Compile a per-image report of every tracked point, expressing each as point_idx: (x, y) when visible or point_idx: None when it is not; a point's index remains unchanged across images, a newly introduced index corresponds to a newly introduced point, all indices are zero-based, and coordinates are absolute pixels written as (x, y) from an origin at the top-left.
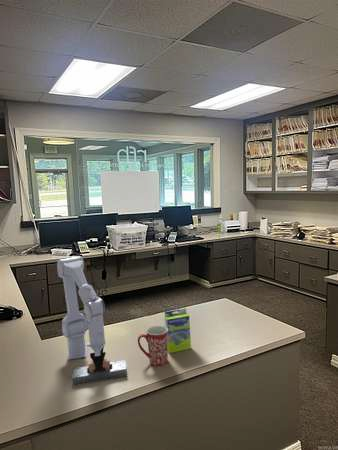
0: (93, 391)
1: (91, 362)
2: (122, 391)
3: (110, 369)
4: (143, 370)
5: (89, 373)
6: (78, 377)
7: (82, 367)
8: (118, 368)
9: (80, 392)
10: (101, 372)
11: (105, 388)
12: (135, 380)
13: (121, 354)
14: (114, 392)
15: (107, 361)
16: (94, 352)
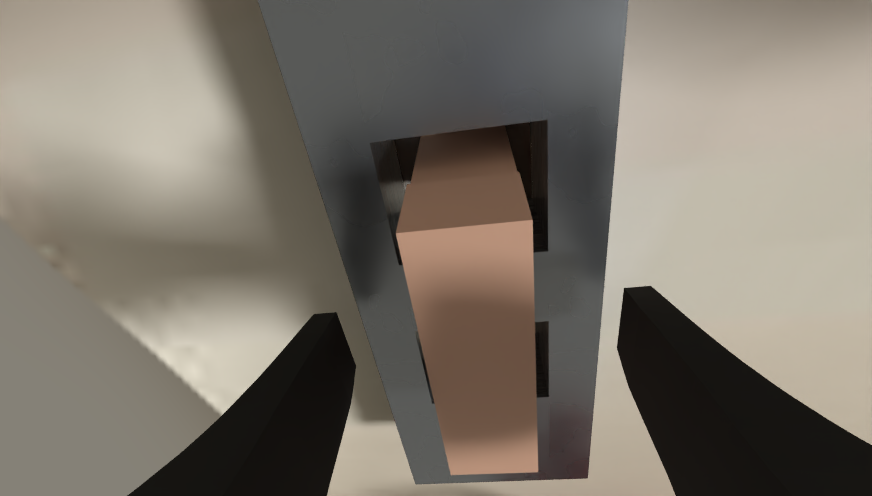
0: (182, 204)
1: (469, 278)
2: (220, 400)
3: (539, 333)
4: (479, 490)
5: (364, 181)
6: (261, 2)
7: (602, 13)
8: (434, 442)
9: (133, 55)
10: (374, 320)
11: (246, 298)
12: (358, 456)
13: (847, 382)
14: (199, 359)
15: (448, 458)
16: (713, 400)
